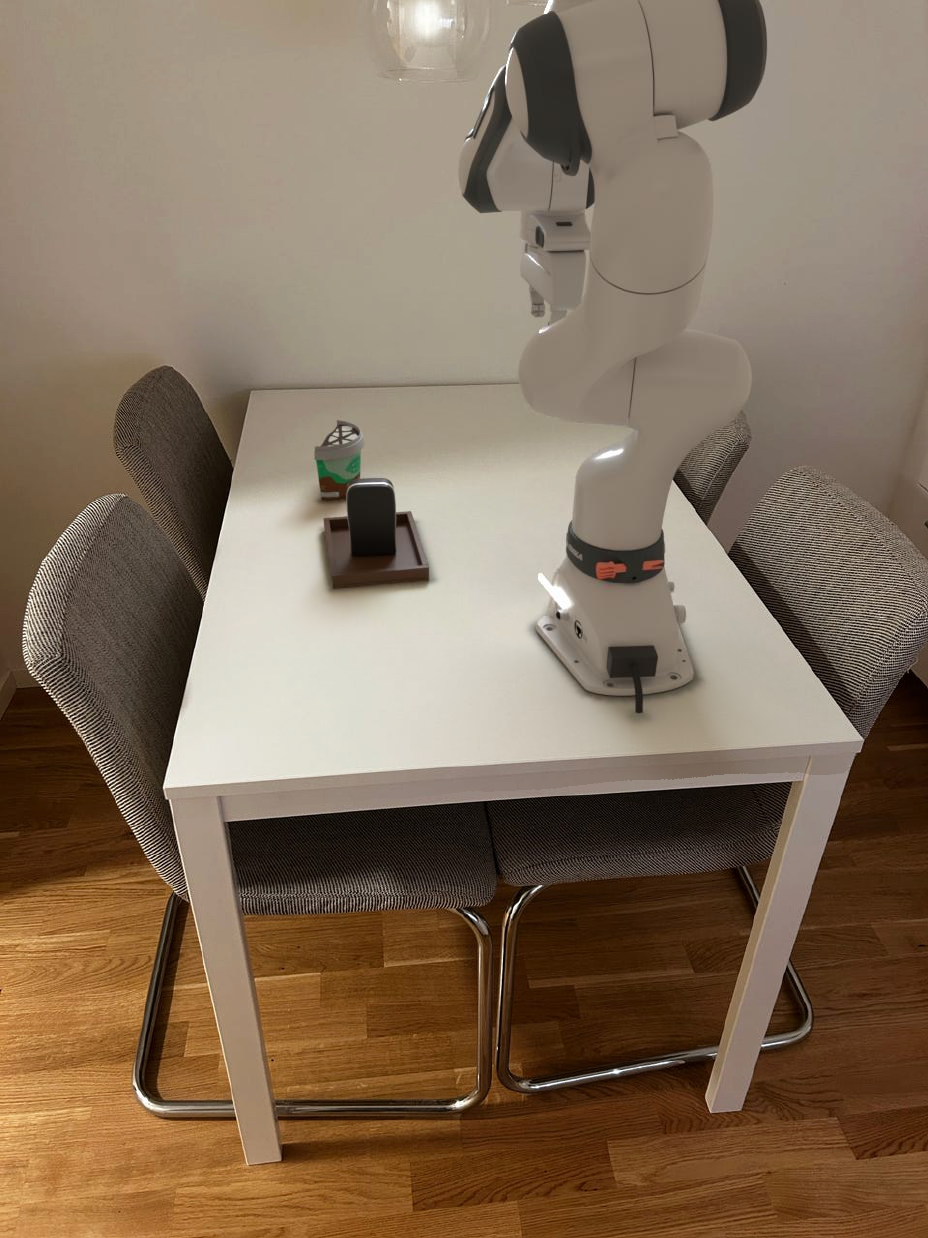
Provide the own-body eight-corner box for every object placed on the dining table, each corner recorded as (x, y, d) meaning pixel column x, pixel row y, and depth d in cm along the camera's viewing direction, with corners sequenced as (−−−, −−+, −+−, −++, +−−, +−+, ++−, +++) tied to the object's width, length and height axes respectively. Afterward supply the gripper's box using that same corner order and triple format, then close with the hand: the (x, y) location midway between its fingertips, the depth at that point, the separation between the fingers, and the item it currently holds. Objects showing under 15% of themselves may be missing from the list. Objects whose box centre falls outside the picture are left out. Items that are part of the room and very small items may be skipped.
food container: (354, 508, 151) (351, 450, 146) (318, 504, 152) (313, 447, 147) (376, 476, 162) (373, 421, 156) (341, 473, 163) (337, 418, 157)
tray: (429, 580, 133) (429, 567, 132) (333, 589, 131) (331, 576, 130) (411, 522, 148) (411, 510, 146) (324, 529, 145) (323, 517, 144)
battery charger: (396, 543, 141) (394, 473, 135) (397, 556, 138) (395, 485, 132) (350, 545, 140) (345, 475, 134) (349, 557, 137) (344, 486, 131)
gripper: (512, 210, 138) (508, 306, 145) (549, 240, 121) (542, 347, 129) (553, 209, 139) (547, 304, 147) (596, 239, 122) (587, 344, 130)
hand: (545, 324), depth 137 cm, fingers open, 8 cm apart
